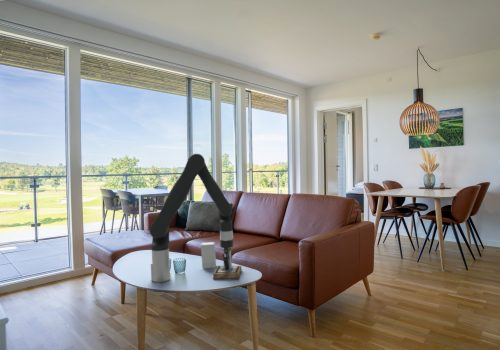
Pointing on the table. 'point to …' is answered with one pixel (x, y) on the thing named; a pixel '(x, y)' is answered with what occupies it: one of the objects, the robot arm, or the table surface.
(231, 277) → the walnut box
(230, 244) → the robot arm
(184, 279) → the table surface
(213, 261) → the skincare box
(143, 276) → the table surface
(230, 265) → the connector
